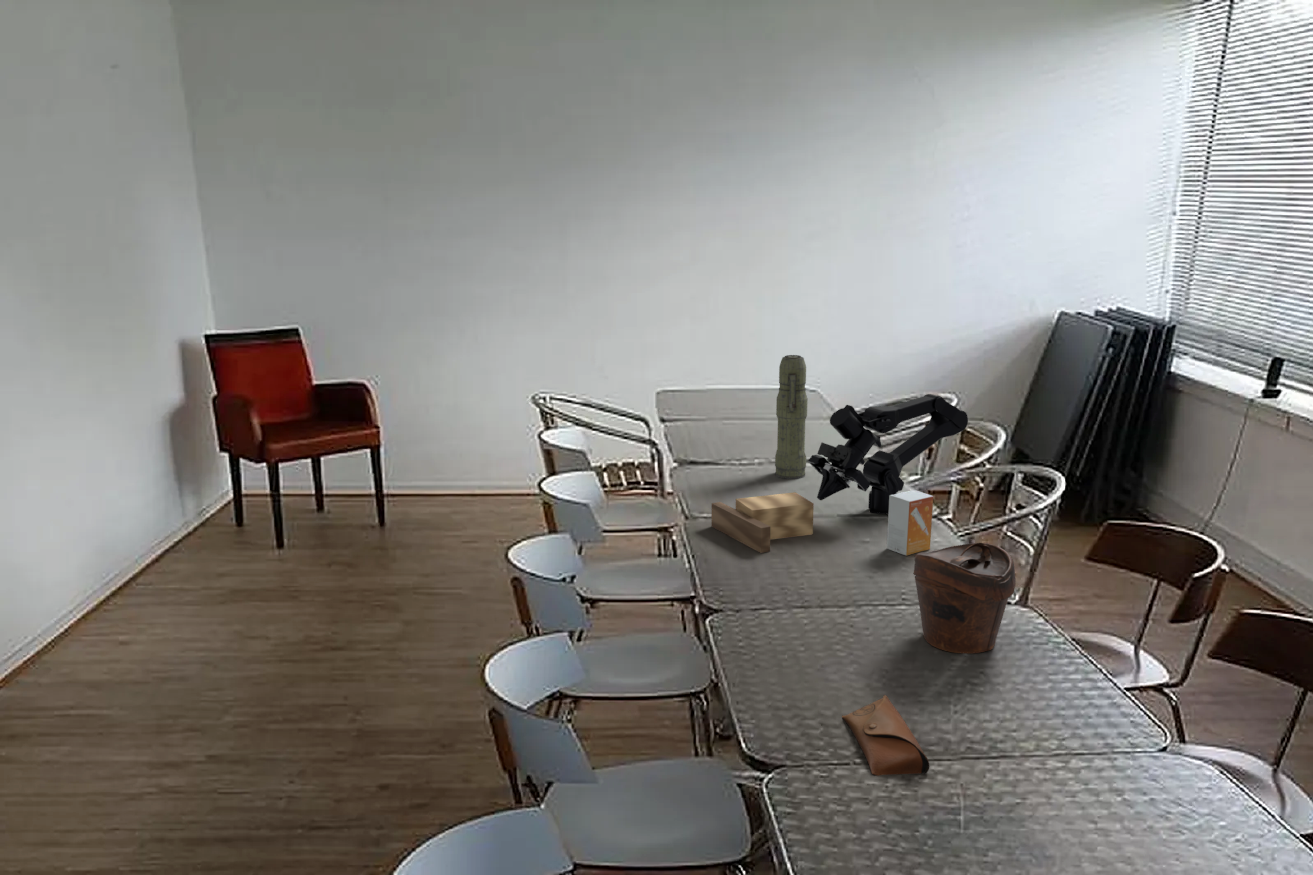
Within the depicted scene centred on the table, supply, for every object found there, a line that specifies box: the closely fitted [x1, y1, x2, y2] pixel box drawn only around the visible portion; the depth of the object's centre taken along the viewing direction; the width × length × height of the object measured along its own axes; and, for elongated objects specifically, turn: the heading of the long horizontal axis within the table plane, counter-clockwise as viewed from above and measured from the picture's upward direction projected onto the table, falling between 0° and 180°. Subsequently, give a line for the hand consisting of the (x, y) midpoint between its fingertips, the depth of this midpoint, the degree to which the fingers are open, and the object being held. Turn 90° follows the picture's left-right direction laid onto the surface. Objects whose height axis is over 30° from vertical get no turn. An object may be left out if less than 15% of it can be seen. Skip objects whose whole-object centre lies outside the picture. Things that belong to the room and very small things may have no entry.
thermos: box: [774, 354, 808, 480], centre depth 293 cm, size 9×12×35 cm
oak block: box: [735, 491, 815, 541], centre depth 246 cm, size 16×10×8 cm, turn 109°
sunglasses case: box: [841, 694, 930, 777], centre depth 152 cm, size 18×7×7 cm
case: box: [913, 542, 1017, 655], centre depth 185 cm, size 18×20×18 cm
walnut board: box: [710, 501, 771, 554], centre depth 242 cm, size 2×22×6 cm, turn 28°
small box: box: [886, 489, 934, 557], centre depth 233 cm, size 8×6×13 cm
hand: (818, 499), depth 252 cm, fingers closed
